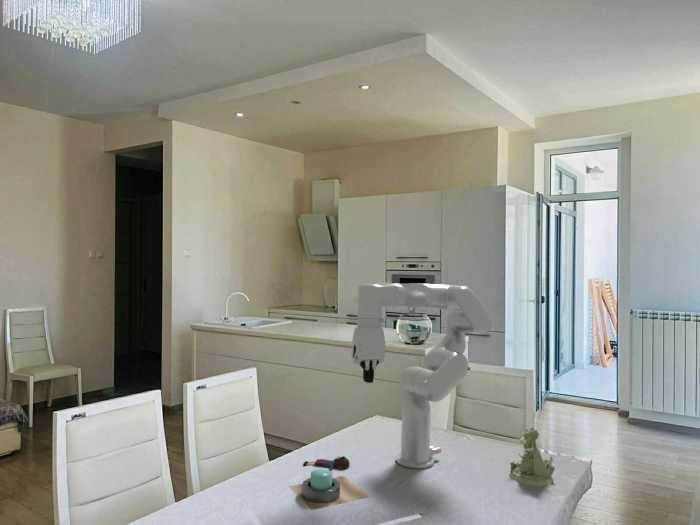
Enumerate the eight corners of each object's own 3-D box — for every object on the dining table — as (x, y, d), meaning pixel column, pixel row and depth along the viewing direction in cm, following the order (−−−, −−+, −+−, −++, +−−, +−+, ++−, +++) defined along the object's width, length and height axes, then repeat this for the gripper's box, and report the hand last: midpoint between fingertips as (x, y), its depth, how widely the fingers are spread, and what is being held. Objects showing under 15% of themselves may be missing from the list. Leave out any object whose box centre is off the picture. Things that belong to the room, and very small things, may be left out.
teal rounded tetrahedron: (325, 488, 153) (326, 467, 153) (335, 497, 147) (336, 475, 147) (306, 492, 150) (307, 471, 150) (315, 501, 144) (316, 479, 144)
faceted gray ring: (329, 484, 156) (329, 474, 156) (346, 498, 146) (346, 487, 146) (296, 491, 151) (296, 480, 151) (311, 506, 141) (311, 495, 141)
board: (343, 478, 162) (343, 475, 162) (370, 500, 148) (370, 496, 148) (288, 489, 154) (289, 486, 154) (311, 513, 140) (311, 509, 140)
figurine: (562, 478, 166) (563, 430, 166) (545, 491, 157) (546, 440, 157) (519, 465, 176) (520, 420, 176) (500, 477, 166) (502, 429, 166)
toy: (298, 478, 165) (345, 479, 162) (297, 463, 165) (344, 464, 162) (310, 461, 179) (353, 462, 176) (309, 447, 179) (353, 448, 176)
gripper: (383, 321, 173) (382, 377, 173) (342, 323, 166) (341, 381, 166) (396, 323, 166) (395, 382, 166) (354, 325, 159) (353, 387, 159)
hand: (368, 381), depth 166 cm, fingers closed
